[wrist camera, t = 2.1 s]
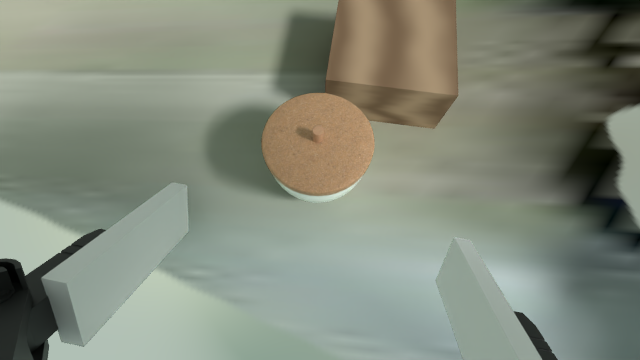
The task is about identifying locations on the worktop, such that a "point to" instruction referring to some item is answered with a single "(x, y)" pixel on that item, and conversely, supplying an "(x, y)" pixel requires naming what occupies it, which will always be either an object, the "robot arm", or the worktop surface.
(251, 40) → the worktop surface
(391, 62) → the walnut block
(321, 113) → the lidded jar
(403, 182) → the worktop surface
